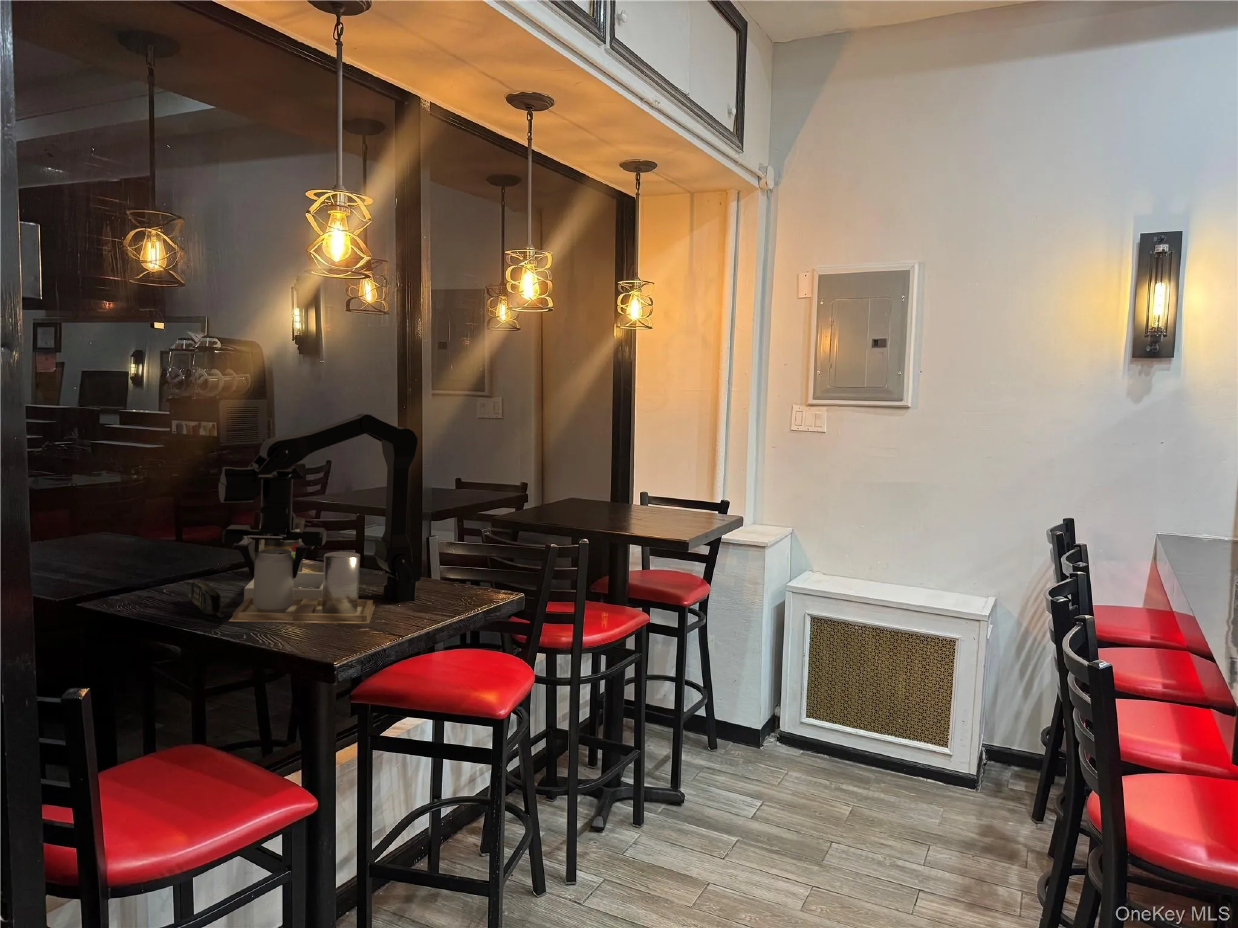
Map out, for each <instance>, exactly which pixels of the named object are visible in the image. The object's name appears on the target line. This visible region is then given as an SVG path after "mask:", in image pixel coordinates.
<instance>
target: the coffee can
mask: <svg viewBox="0 0 1238 928" xmlns="http://www.w3.org/2000/svg"><path fill="white" fill-rule="evenodd" d="M305 523H306V519H305V518H303V517H300V516H296V521H295V530H293V531H300V532H303V530H304V529H305ZM260 526H261V524H260V523H259V527H260ZM265 535H268V534H265ZM271 536H272V535H271ZM279 536H280V535H279ZM281 536H282V535H281ZM283 536H284V535H283ZM258 540H259V539H258ZM299 544H300V543H299V541H292V540H259V541H258V552H259V551H260V550H263V549H270V548H282V549H288V550H291V551H292V553H291V555H292V556H293V557H294V558H295V552H296V547H297V546H298V545H299ZM303 561H304V560H303ZM303 561H302V563H301V566H300V569H299V571H298V572H303Z"/></svg>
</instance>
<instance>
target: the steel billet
mask: <svg viewBox="0 0 1238 928" xmlns="http://www.w3.org/2000/svg"><path fill="white" fill-rule="evenodd" d="M360 565H361V554H360V553H357V552H351V551H333V552H328V553H325V554H323V572H322V573H323V592H322V614H357V612H358V600H359V589H360V570H361V569H360V568H361V566H360Z"/></svg>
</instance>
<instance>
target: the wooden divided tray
mask: <svg viewBox="0 0 1238 928" xmlns="http://www.w3.org/2000/svg"><path fill="white" fill-rule="evenodd" d="M375 606H376V603H374V600H373V599H358V612H357V614H322V599H311V598H293V605H292V606H291V607H290V608H289V609H288V610H286V611H283V612H276V613H266V612H260V611H258V610H257V609H256V608H255V607H254V606H253V597H248V598H247V599H246V600H245V601H244V600H243V602H242V603H241V604H240V605H239V606H238V607H237V608H236V609H235V611H233V613H232V617H231V618H230V619H229V620H228V622H248V623H249V622H251V623H252V622H253V623H255V622H256V623H262V622H263V623H267V622H268V623H311V624H312V623H315V624H316V623H319V624H321V623H323V624H324V623H327V624H370V622H371V619H372V616H373V613H374V610H375Z"/></svg>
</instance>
